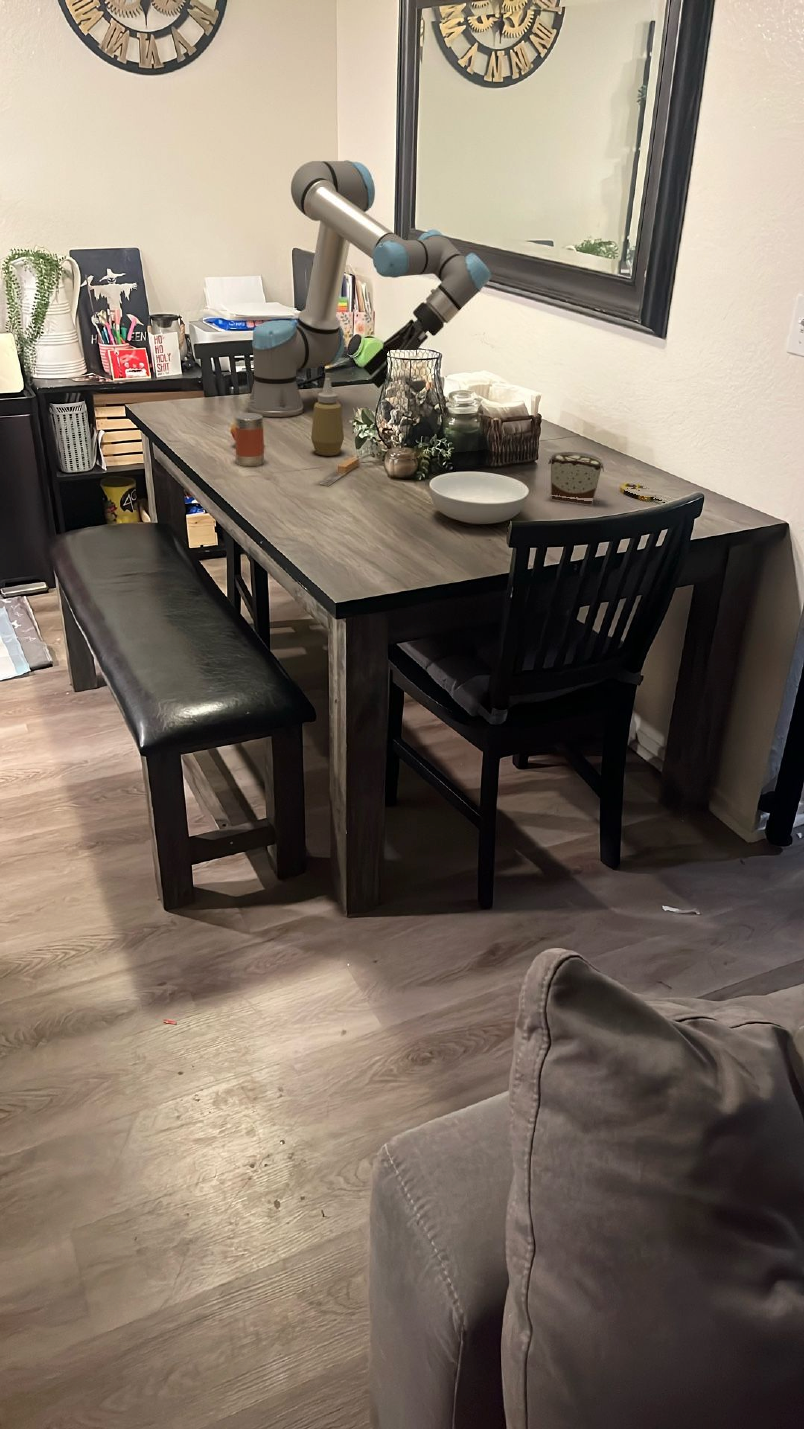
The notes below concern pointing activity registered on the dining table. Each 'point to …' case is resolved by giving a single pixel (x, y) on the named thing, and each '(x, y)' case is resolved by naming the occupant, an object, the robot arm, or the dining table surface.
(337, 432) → the squeeze bottle
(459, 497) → the serving bowl
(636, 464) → the dining table surface
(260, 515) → the dining table surface
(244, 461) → the tin can
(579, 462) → the food container
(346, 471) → the knife
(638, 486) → the overripe banana
